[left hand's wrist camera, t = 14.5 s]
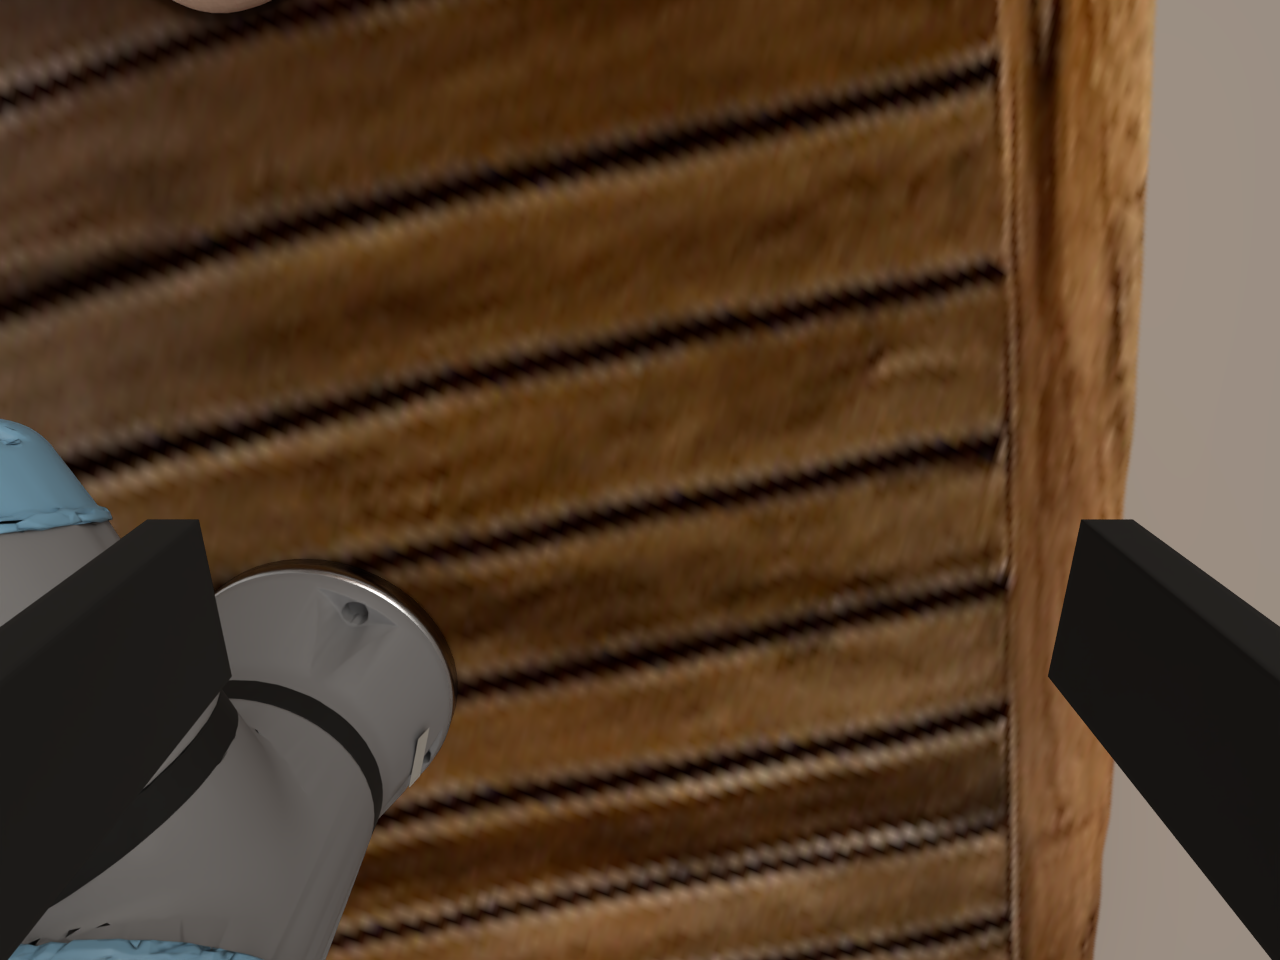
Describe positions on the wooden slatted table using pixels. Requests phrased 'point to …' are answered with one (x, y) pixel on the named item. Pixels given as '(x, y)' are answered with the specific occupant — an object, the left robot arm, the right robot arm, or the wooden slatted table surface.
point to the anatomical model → (221, 5)
